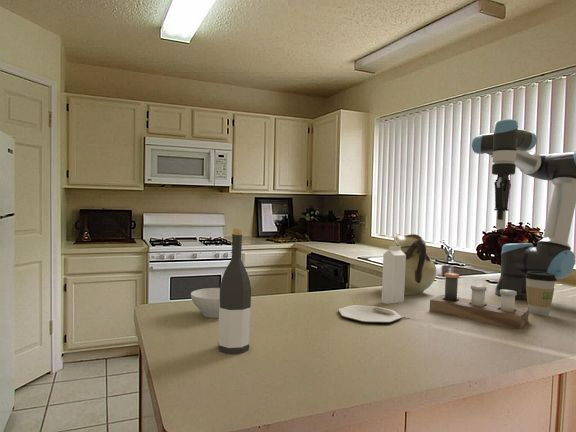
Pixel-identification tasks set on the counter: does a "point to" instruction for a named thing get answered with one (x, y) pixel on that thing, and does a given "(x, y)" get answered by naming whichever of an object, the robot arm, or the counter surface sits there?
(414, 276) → the pitcher
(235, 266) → the wine bottle
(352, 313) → the plate
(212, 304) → the bowl
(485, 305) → the mount
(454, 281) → the pot knob
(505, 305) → the knob left
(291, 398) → the counter surface
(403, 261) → the milk
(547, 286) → the coffee cup
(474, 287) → the knob mid
